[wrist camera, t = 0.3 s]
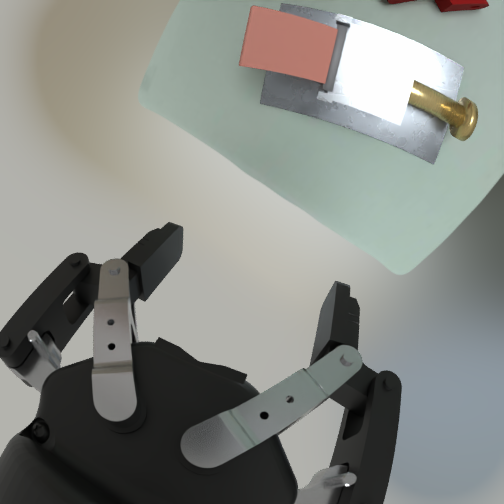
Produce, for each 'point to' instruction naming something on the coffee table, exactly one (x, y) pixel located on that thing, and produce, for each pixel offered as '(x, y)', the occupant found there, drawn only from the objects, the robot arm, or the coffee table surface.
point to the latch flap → (292, 46)
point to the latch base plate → (372, 85)
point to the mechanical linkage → (453, 4)
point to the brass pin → (446, 109)
